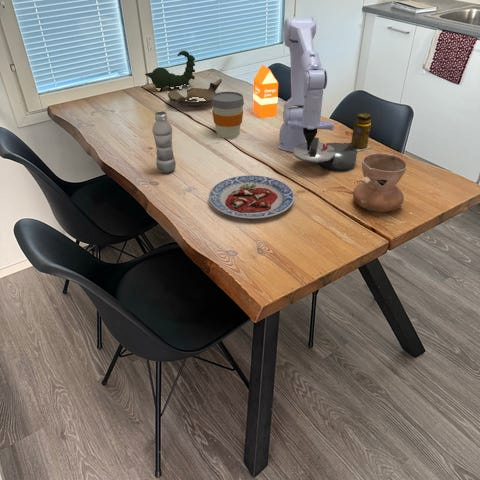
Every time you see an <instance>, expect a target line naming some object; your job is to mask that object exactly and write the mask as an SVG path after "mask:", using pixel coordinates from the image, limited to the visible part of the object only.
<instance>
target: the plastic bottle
mask: <svg viewBox="0 0 480 480" xmlns="http://www.w3.org/2000/svg"><path fill="white" fill-rule="evenodd" d="M167 116H168V115H167V112H166V111H163V110H162V111H155V113H154V120H155V122H154V124H153V126H152V135H153V138H154V142H155V143H154V144H155V149H156V159H155V161H156V162H155V163H156V167H157V170H158V171H159V172H161V173H166V174H168V173H172V172H174V170H175V169H176V165H177V163H176V159H175V155H174V151H173V127H172V125H171V124H170V122H169V121H168V120H167V119H168V117H167Z"/></svg>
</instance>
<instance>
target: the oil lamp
mask: <svg viewBox="0 0 480 480" xmlns="http://www.w3.org/2000/svg"><path fill="white" fill-rule="evenodd" d="M222 81H223V80H222V78H219V79H218V80H216V81H215V82H210V83H209V88H200V87H190V89H186V94H187V95H186V96H187V98H186V97H184V96H183V95H182V94H181V93H179V92H178V90H177V89H174V90H171V91H169V92H168V94H167V96H168V99H169V101H170V102H173V103H177V104H179V105H184V106H187V107H202V106H206V105H209V104H211V101H212V95H213V94H215V93H217V92H216V91H217V89H218V87H219V86H220V85H221V83H222ZM192 97H199V98H204V99H205V100H206V101H199V102H196V101H189V100H188V101H189V102H188V101H185V100H186V99H188V98H192Z"/></svg>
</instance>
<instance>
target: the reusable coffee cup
mask: <svg viewBox="0 0 480 480" xmlns="http://www.w3.org/2000/svg"><path fill="white" fill-rule="evenodd" d="M244 100H245V99H244V95H243V94H242V93H240V92H237V91H236V92H235V91H220V92H216V93H215V94H213V95H212V101H211V103H210V104H211V106H212V111H211V112H212V117H213V118H212V119H213V123H214V124H215V129H216V130H215V131H216V135H217V137H218V138H221V137H222V139H234V137H235V138H238V137H239V136H240V133H241V124H243V118H244V117H243V116H244V110H243V109H244V104H245V102H244ZM238 135H239V136H238Z"/></svg>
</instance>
